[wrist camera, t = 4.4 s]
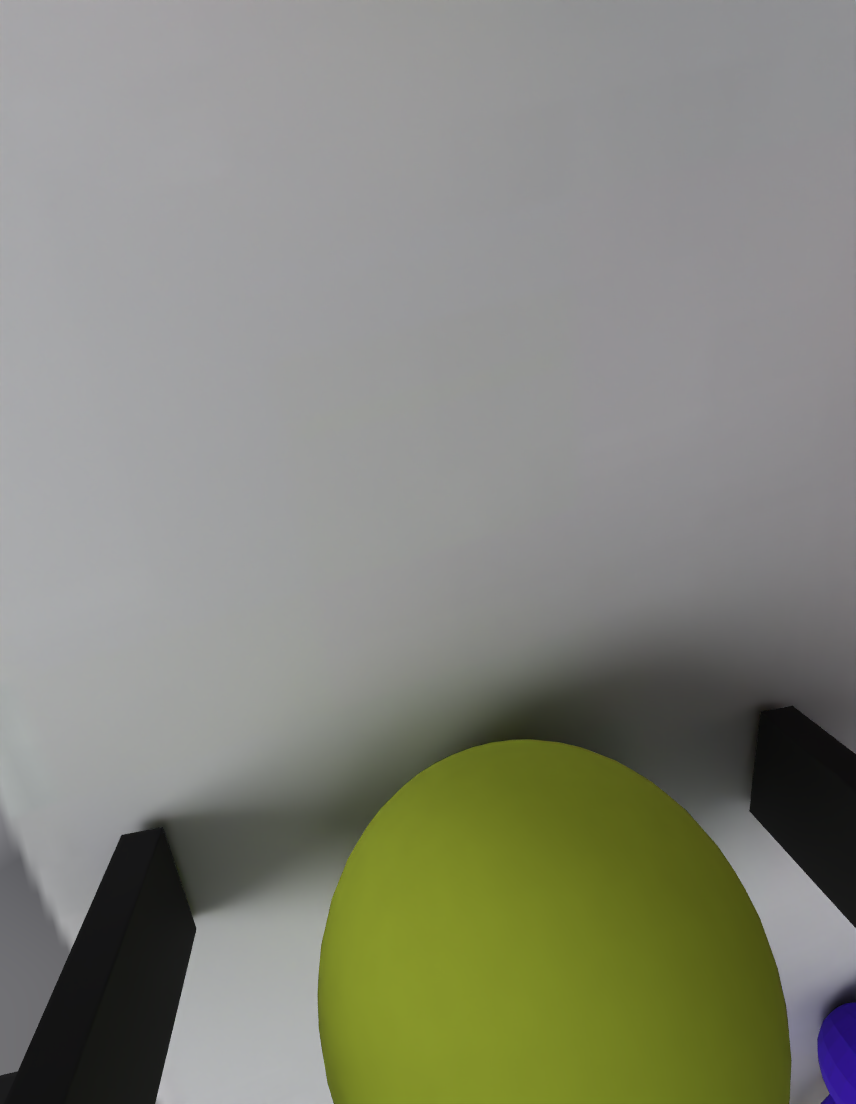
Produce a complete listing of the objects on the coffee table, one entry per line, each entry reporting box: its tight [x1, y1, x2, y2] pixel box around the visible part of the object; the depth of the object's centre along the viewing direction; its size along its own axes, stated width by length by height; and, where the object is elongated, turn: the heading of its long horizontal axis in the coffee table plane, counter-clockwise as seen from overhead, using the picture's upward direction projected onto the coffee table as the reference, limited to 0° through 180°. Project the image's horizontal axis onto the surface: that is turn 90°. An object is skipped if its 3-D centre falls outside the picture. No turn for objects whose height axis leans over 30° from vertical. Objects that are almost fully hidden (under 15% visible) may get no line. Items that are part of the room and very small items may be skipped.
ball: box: [318, 739, 791, 1104], centre depth 9 cm, size 7×7×7 cm
